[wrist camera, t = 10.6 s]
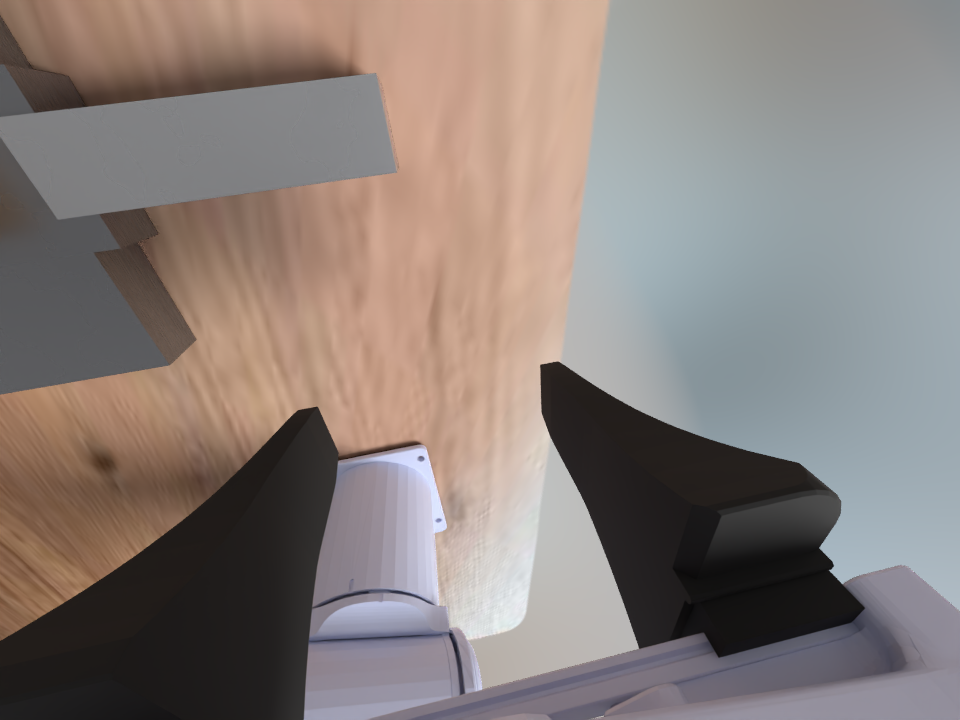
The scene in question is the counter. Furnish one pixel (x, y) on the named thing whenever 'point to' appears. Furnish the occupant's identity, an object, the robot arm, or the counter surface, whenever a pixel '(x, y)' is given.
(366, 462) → the robot arm
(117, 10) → the counter surface
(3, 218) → the grey mounting plate
